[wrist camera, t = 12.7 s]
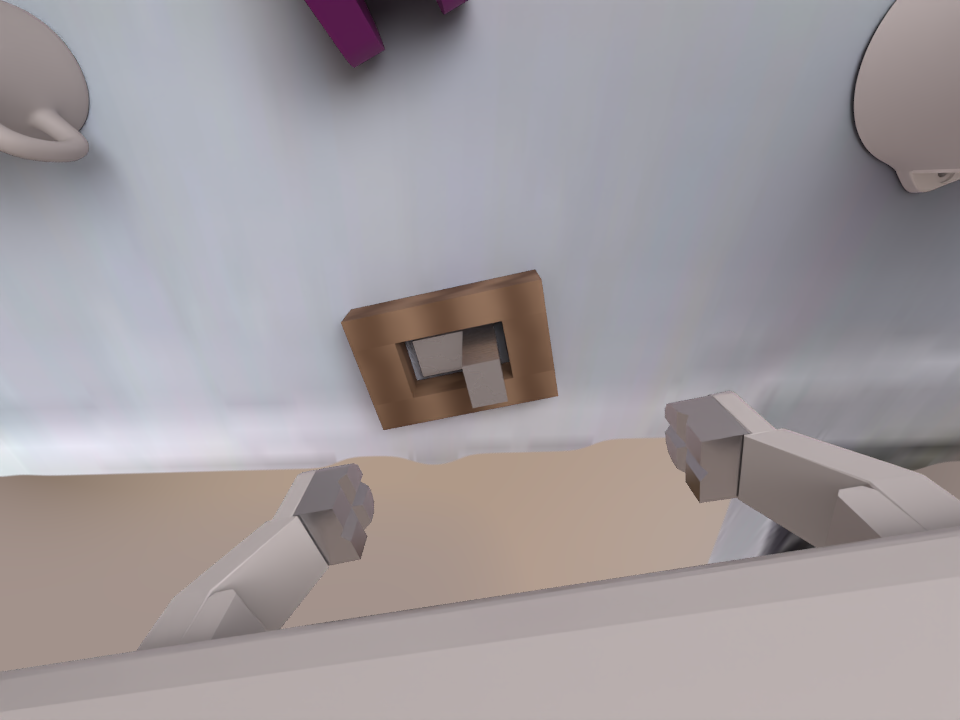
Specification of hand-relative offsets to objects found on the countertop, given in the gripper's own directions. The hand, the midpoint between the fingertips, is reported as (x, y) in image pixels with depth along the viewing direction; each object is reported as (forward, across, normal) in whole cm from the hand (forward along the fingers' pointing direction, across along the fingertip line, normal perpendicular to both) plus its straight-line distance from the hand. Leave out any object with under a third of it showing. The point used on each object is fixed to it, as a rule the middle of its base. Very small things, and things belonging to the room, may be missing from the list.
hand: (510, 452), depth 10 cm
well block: (+28, +5, +9) cm, 30 cm away
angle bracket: (+28, +5, +9) cm, 30 cm away
